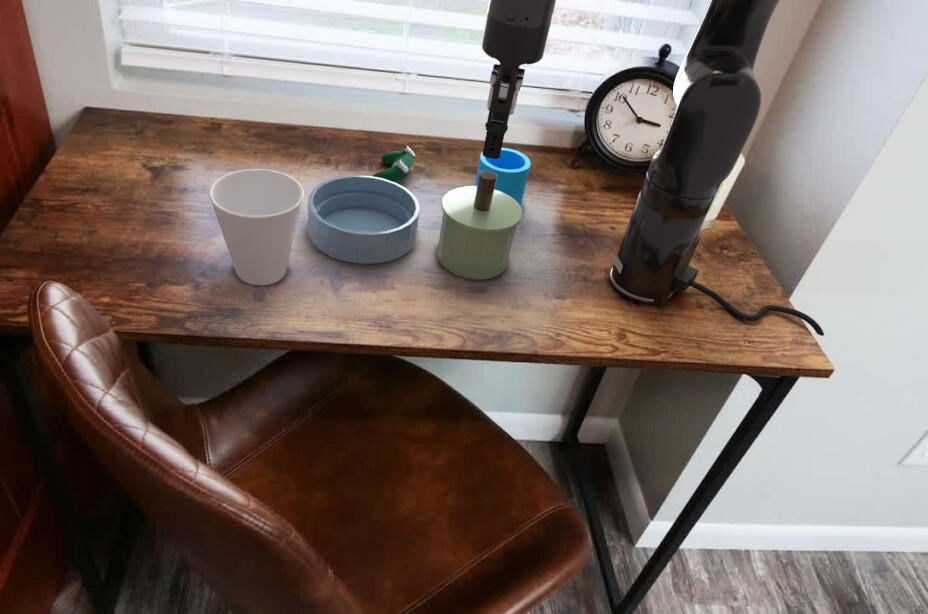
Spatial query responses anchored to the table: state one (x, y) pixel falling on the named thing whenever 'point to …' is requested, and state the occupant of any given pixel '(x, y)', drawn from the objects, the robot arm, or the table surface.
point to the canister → (473, 250)
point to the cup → (258, 221)
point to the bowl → (362, 219)
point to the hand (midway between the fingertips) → (494, 142)
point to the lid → (482, 206)
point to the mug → (507, 172)
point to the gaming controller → (396, 165)
